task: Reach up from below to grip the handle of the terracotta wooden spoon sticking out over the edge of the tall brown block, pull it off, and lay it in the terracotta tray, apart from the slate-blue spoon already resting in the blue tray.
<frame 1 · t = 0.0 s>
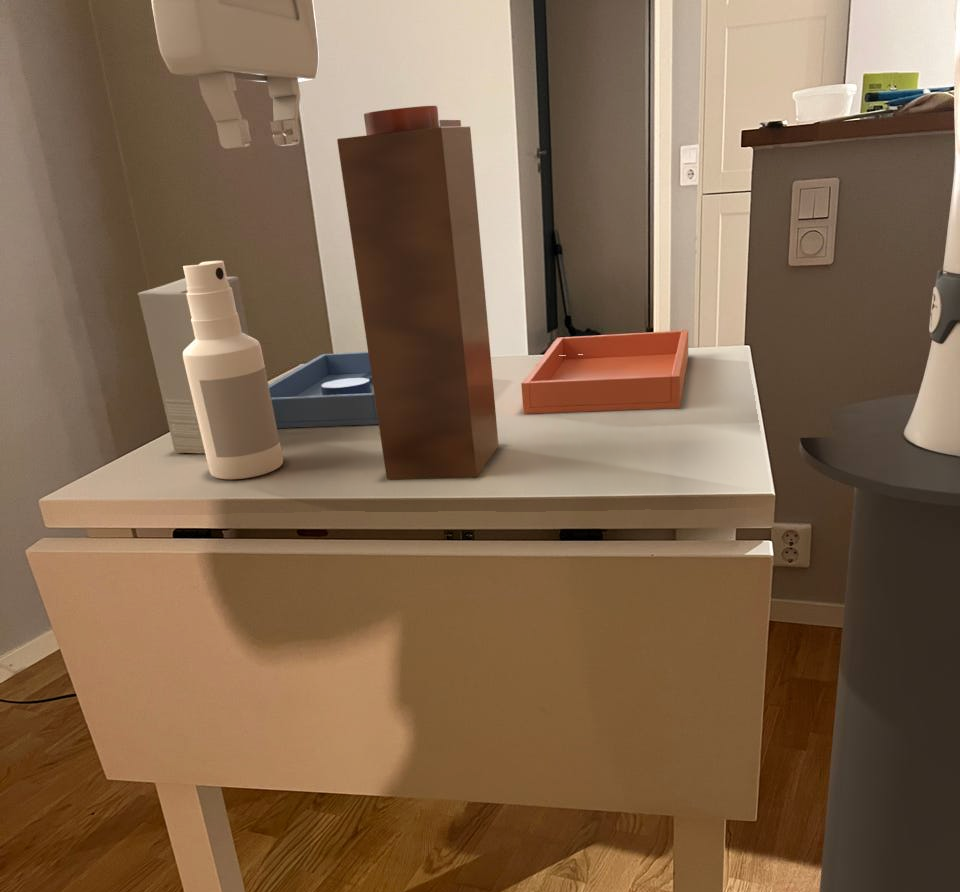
hand: (263, 146, 74), 26 cm above the table, tool pointing down, fingers open, 8 cm apart
spray bottle: (247, 471, 89), on the table
blue tray: (351, 399, 111), on the table
terracotta spoon: (415, 132, 75), point 26 cm above the table, touching tall brown block
cosmetic box: (223, 445, 98), on the table
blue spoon: (356, 390, 112), point 1 cm above the table, touching blue tray
tall brown block: (444, 462, 85), on the table
terracotta tray: (612, 383, 105), on the table
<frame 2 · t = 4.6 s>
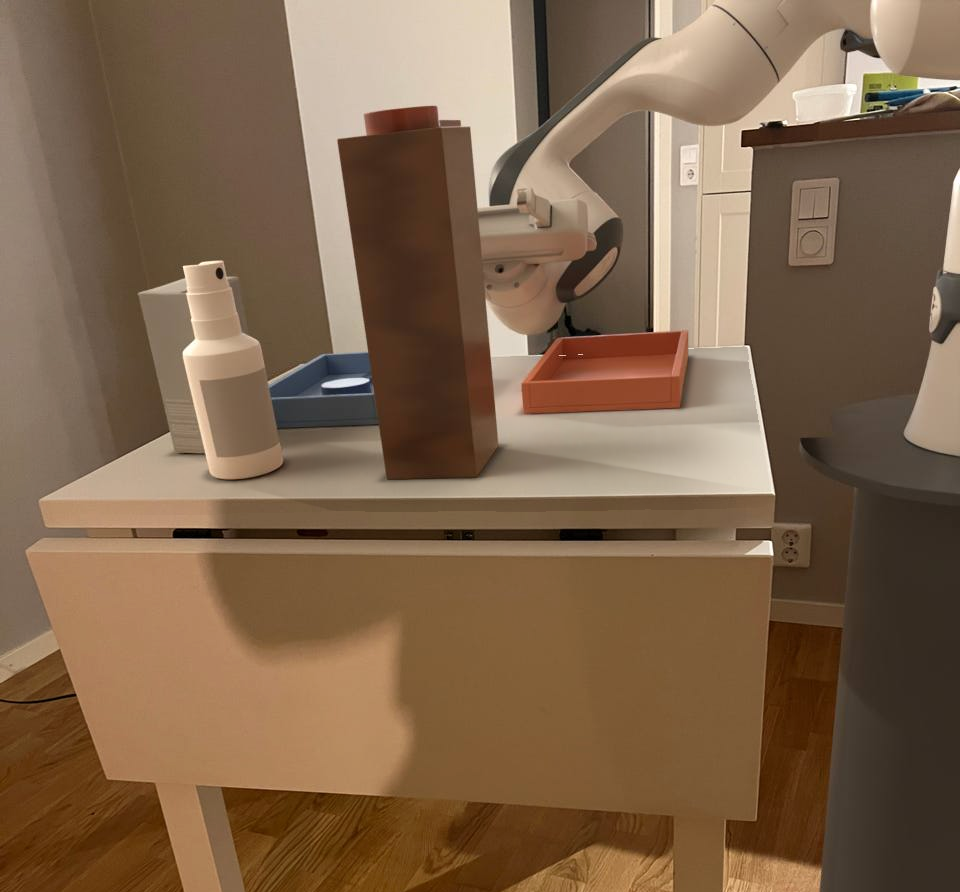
hand: (477, 200, 94), 20 cm above the table, tool pointing upward, fingers open, 8 cm apart
nothing on the table moved.
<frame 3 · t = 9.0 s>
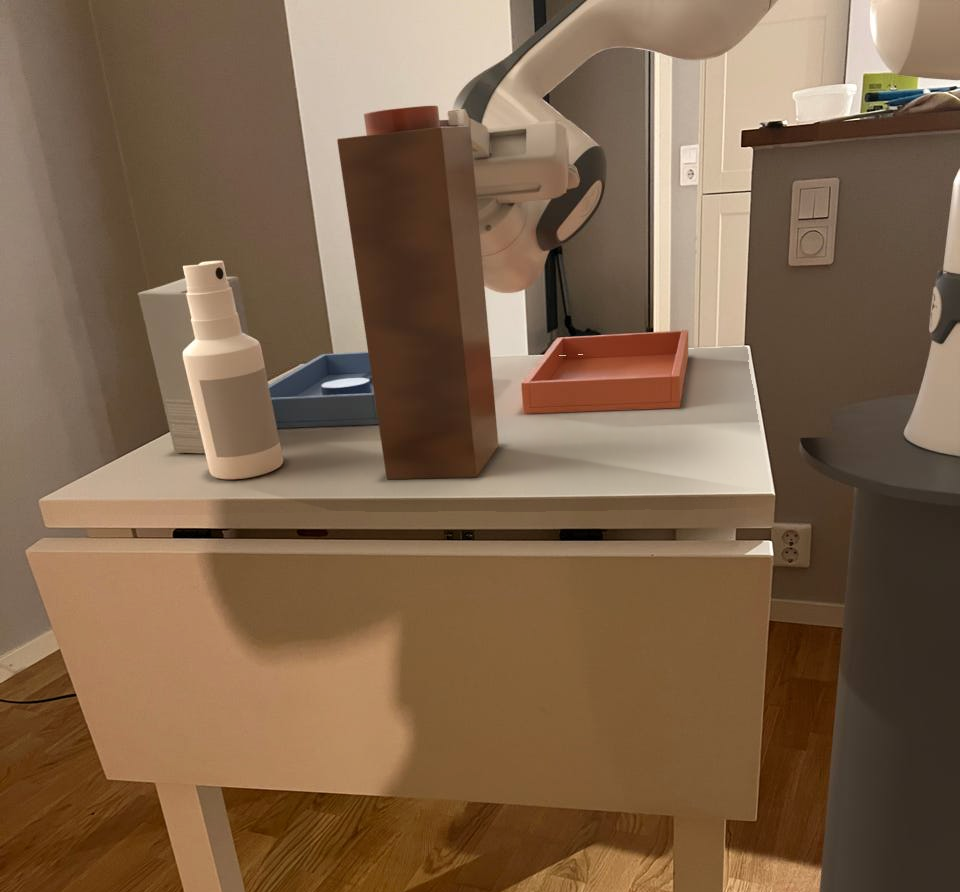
hand: (438, 119, 81), 27 cm above the table, tool pointing upward, fingers closed on terracotta spoon, 2 cm apart
terracotta spoon: (415, 131, 75), point 26 cm above the table, touching gripper, tall brown block
everything else where it was.
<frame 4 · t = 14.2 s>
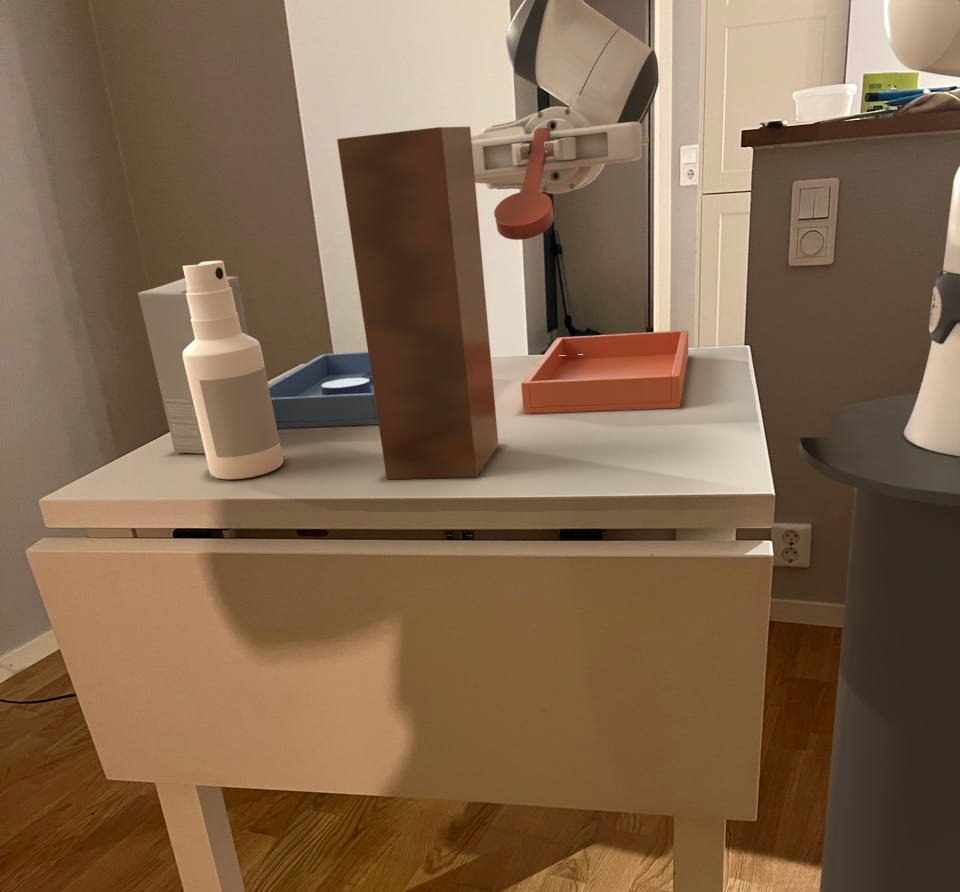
hand: (536, 151, 97), 23 cm above the table, tool horizontal, fingers closed on terracotta spoon, 2 cm apart
terracotta spoon: (529, 202, 94), point 19 cm above the table, tilted 29°, touching gripper
everything else where it was.
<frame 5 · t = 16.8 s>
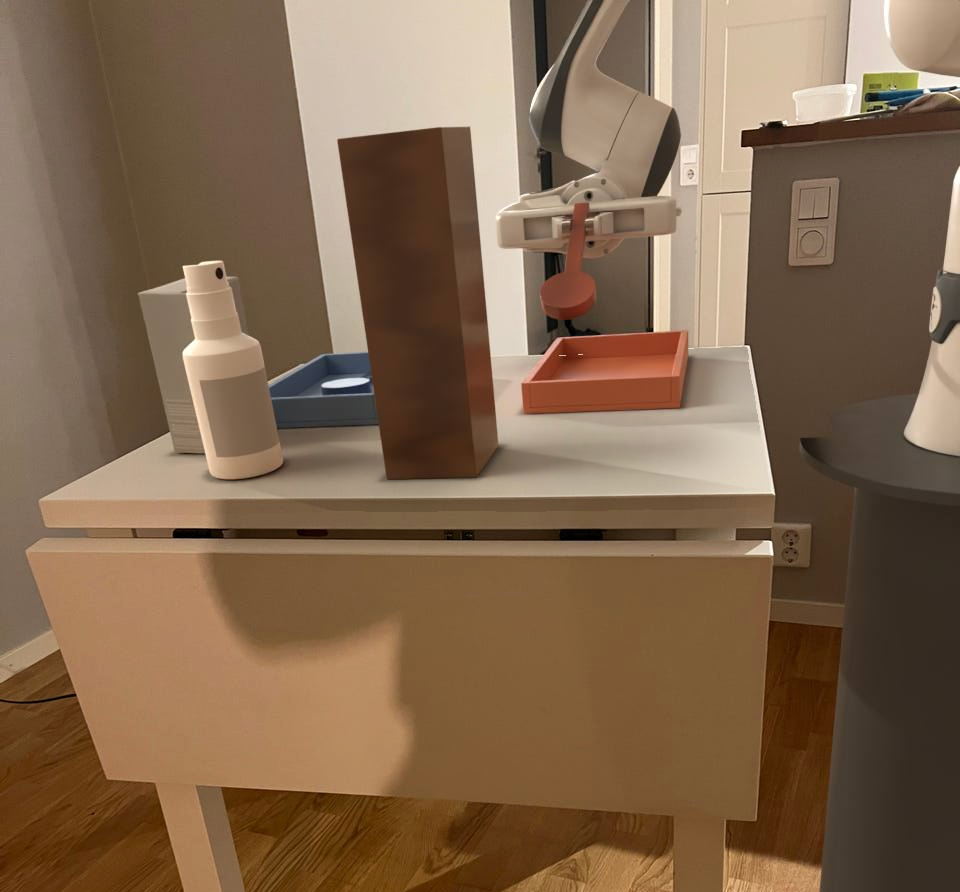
hand: (577, 228, 101), 16 cm above the table, tool horizontal, fingers closed on terracotta spoon, 2 cm apart
terracotta spoon: (572, 280, 98), point 11 cm above the table, tilted 30°, touching gripper
everything else where it was.
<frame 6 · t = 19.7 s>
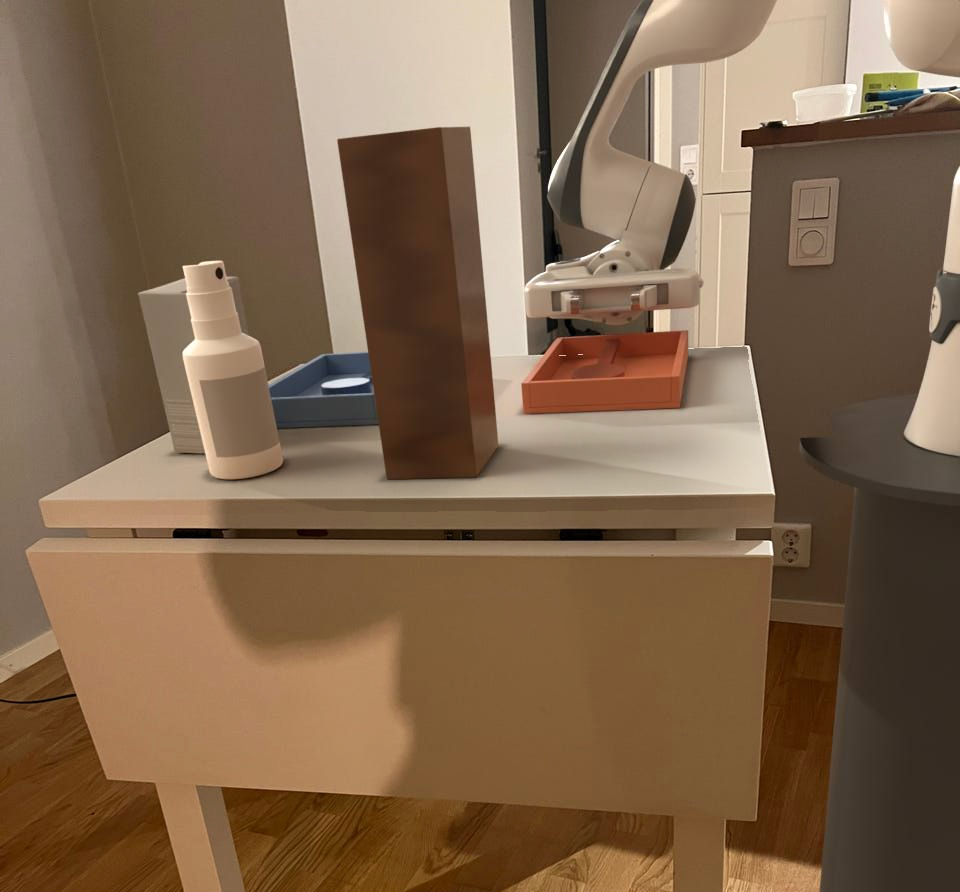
hand: (604, 304, 105), 8 cm above the table, tool horizontal, fingers open, 6 cm apart
terracotta spoon: (601, 376, 104), point 1 cm above the table, touching terracotta tray
everything else where it was.
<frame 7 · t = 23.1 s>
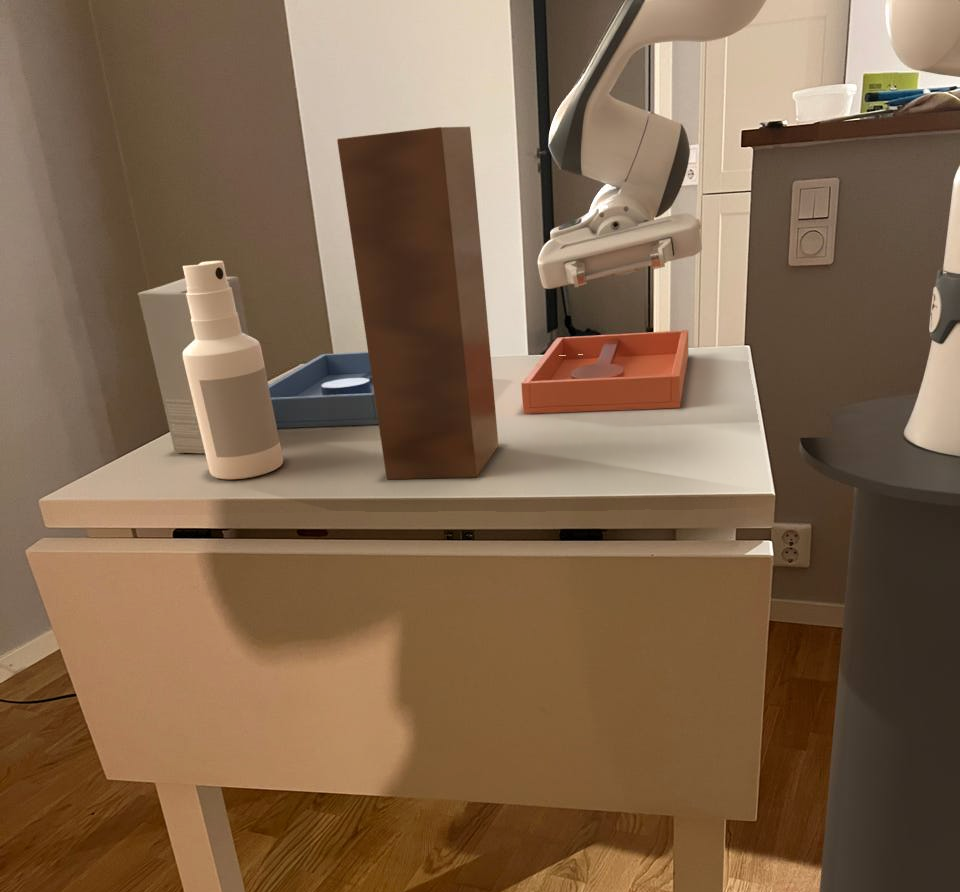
hand: (618, 270, 114), 10 cm above the table, tool horizontal, fingers open, 8 cm apart
nothing on the table moved.
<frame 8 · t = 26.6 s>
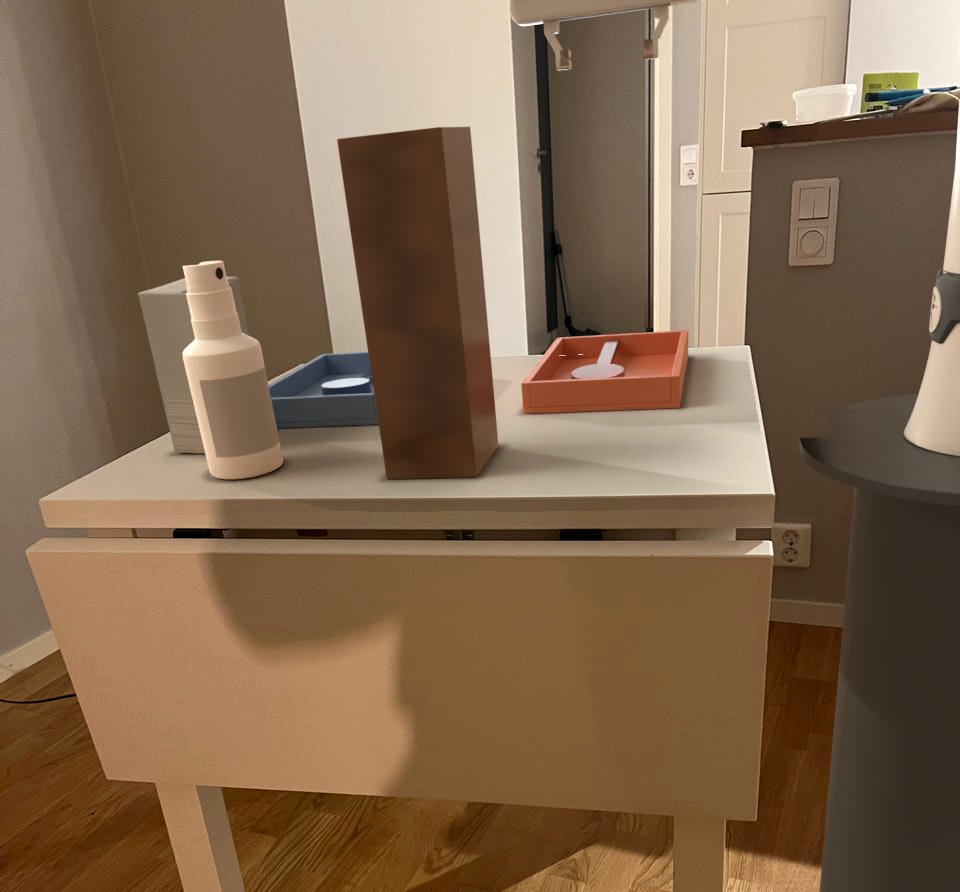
hand: (607, 64, 103), 31 cm above the table, tool pointing down, fingers open, 8 cm apart
nothing on the table moved.
at the end: terracotta spoon inside the target area in the terracotta tray (1.4 cm from its centre), point 1.0 cm above the terracotta tray's base; the gripper is holding nothing; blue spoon inside the target area in the blue tray (2.0 cm from its centre), point 0.5 cm above the blue tray's base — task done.
